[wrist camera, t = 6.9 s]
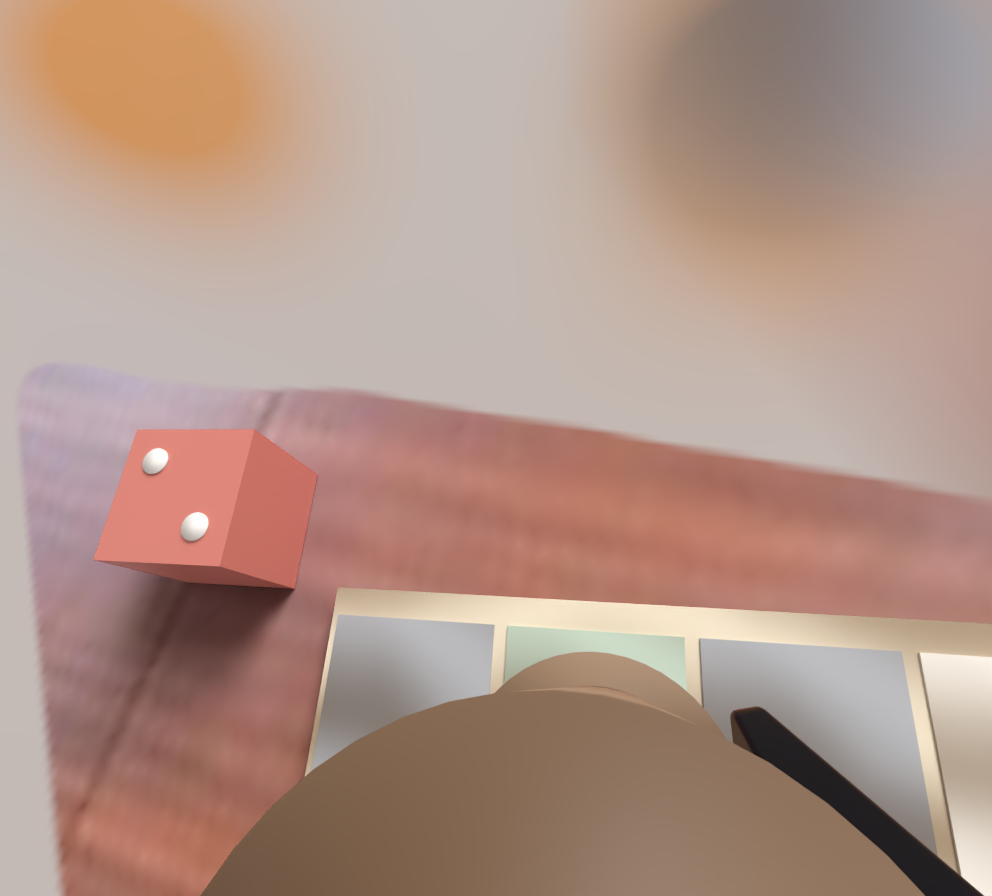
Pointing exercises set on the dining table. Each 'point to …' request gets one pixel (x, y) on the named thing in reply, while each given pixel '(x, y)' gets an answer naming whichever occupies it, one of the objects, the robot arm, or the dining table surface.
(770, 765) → the pawn
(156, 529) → the die
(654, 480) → the dining table surface
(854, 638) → the board
